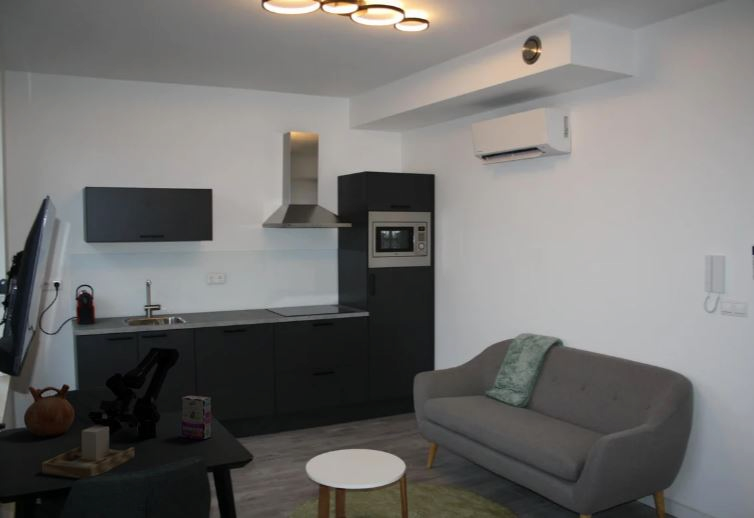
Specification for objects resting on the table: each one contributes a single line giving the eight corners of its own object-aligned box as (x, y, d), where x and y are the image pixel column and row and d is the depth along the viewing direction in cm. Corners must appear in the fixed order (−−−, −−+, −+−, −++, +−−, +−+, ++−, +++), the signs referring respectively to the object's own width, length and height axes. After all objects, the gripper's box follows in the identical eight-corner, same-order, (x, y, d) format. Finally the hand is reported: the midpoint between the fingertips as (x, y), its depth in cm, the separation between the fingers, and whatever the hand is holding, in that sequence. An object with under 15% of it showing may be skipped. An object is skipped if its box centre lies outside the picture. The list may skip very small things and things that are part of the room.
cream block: (95, 452, 240) (94, 425, 240) (109, 454, 239) (109, 426, 238) (81, 458, 234) (81, 430, 233) (96, 460, 232) (96, 432, 232)
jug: (22, 442, 257) (21, 392, 257) (26, 430, 274) (25, 382, 273) (73, 437, 265) (73, 388, 264) (74, 425, 281) (74, 378, 280)
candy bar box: (211, 437, 266) (211, 397, 265) (204, 440, 261) (204, 400, 261) (189, 434, 270) (189, 394, 270) (181, 437, 266) (181, 397, 265)
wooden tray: (88, 451, 247) (88, 442, 247) (134, 456, 242) (134, 447, 242) (41, 473, 224) (41, 463, 224) (91, 479, 219) (91, 469, 219)
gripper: (90, 389, 247) (69, 426, 236) (133, 392, 242) (114, 430, 232) (104, 405, 255) (85, 441, 244) (146, 408, 250) (128, 446, 239)
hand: (102, 439), depth 240 cm, fingers closed
